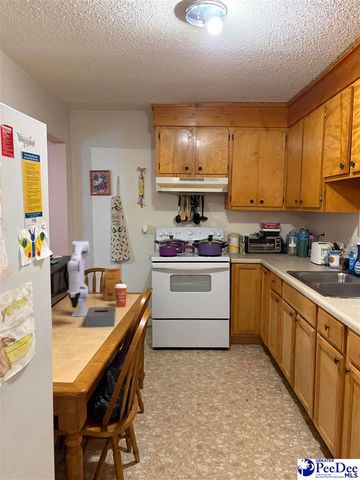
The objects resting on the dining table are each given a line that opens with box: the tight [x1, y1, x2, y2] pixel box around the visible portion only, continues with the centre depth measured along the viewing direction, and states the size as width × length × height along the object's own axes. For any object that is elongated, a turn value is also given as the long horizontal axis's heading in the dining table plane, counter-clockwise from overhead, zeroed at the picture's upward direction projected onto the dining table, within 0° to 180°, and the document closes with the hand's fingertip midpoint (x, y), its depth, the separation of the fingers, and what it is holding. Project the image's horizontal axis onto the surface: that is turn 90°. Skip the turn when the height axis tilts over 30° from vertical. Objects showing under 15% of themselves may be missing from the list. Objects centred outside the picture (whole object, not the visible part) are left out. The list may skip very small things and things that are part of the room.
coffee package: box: [102, 267, 122, 302], centre depth 243 cm, size 10×12×22 cm
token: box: [69, 302, 80, 312], centre depth 192 cm, size 2×5×4 cm, turn 98°
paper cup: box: [115, 283, 128, 308], centre depth 227 cm, size 8×8×14 cm
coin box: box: [84, 306, 117, 328], centre depth 195 cm, size 17×15×6 cm
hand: (74, 306), depth 192 cm, fingers closed on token, 2 cm apart
